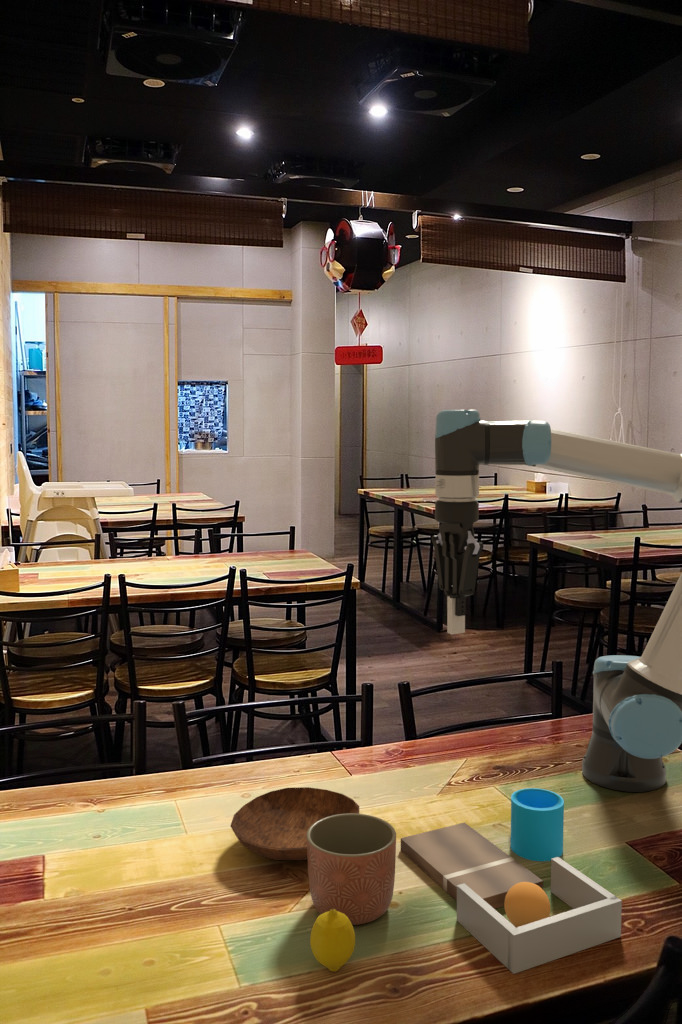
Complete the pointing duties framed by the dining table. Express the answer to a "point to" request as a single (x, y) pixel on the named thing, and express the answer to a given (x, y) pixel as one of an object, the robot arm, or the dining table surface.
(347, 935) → the fruit
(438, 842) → the board
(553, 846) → the mug
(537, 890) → the ball
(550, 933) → the grey frame
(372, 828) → the planter
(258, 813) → the bowl
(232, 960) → the dining table surface
